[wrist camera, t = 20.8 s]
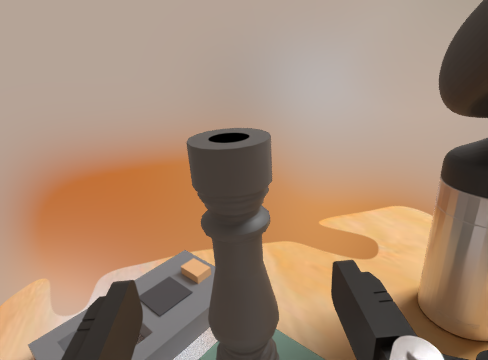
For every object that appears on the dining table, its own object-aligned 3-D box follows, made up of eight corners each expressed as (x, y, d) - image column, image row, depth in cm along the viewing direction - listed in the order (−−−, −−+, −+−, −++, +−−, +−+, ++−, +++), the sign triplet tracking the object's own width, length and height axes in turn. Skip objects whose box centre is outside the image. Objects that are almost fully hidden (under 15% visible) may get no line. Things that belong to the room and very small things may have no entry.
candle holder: (205, 397, 29) (162, 144, 20) (240, 347, 34) (219, 125, 25) (261, 435, 26) (242, 155, 17) (291, 374, 31) (290, 130, 21)
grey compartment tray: (187, 265, 50) (183, 243, 48) (242, 298, 42) (240, 273, 41) (36, 363, 35) (24, 336, 33) (79, 441, 27) (66, 411, 26)
